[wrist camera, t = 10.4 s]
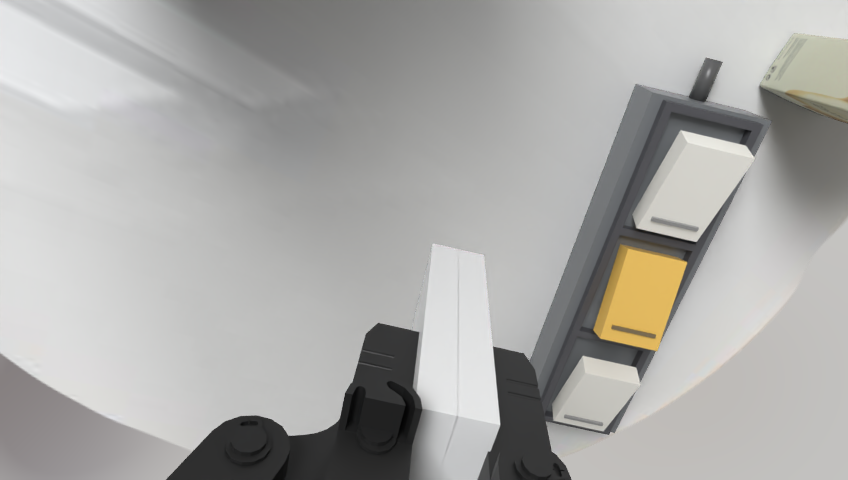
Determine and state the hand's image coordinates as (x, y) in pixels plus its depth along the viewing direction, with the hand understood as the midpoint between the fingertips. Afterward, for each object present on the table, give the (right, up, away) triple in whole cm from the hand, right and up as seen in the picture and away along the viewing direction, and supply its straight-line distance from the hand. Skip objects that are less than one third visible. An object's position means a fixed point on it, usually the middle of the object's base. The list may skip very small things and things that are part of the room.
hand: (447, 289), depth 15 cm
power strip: (+17, 0, +32) cm, 37 cm away
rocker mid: (+17, -3, +28) cm, 33 cm away
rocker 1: (+15, -12, +33) cm, 38 cm away
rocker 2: (+19, +6, +24) cm, 31 cm away
